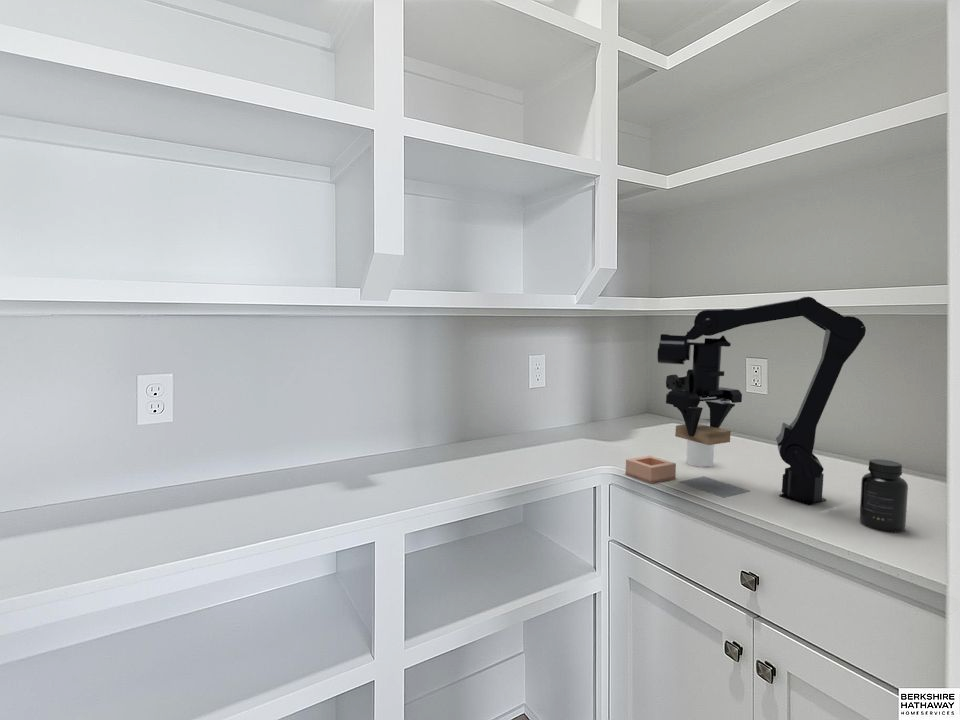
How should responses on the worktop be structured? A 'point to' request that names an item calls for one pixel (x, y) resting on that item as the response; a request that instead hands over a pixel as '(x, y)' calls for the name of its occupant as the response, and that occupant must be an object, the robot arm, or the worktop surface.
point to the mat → (714, 486)
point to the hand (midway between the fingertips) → (702, 434)
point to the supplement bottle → (884, 496)
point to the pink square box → (650, 469)
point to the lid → (704, 434)
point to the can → (700, 450)
